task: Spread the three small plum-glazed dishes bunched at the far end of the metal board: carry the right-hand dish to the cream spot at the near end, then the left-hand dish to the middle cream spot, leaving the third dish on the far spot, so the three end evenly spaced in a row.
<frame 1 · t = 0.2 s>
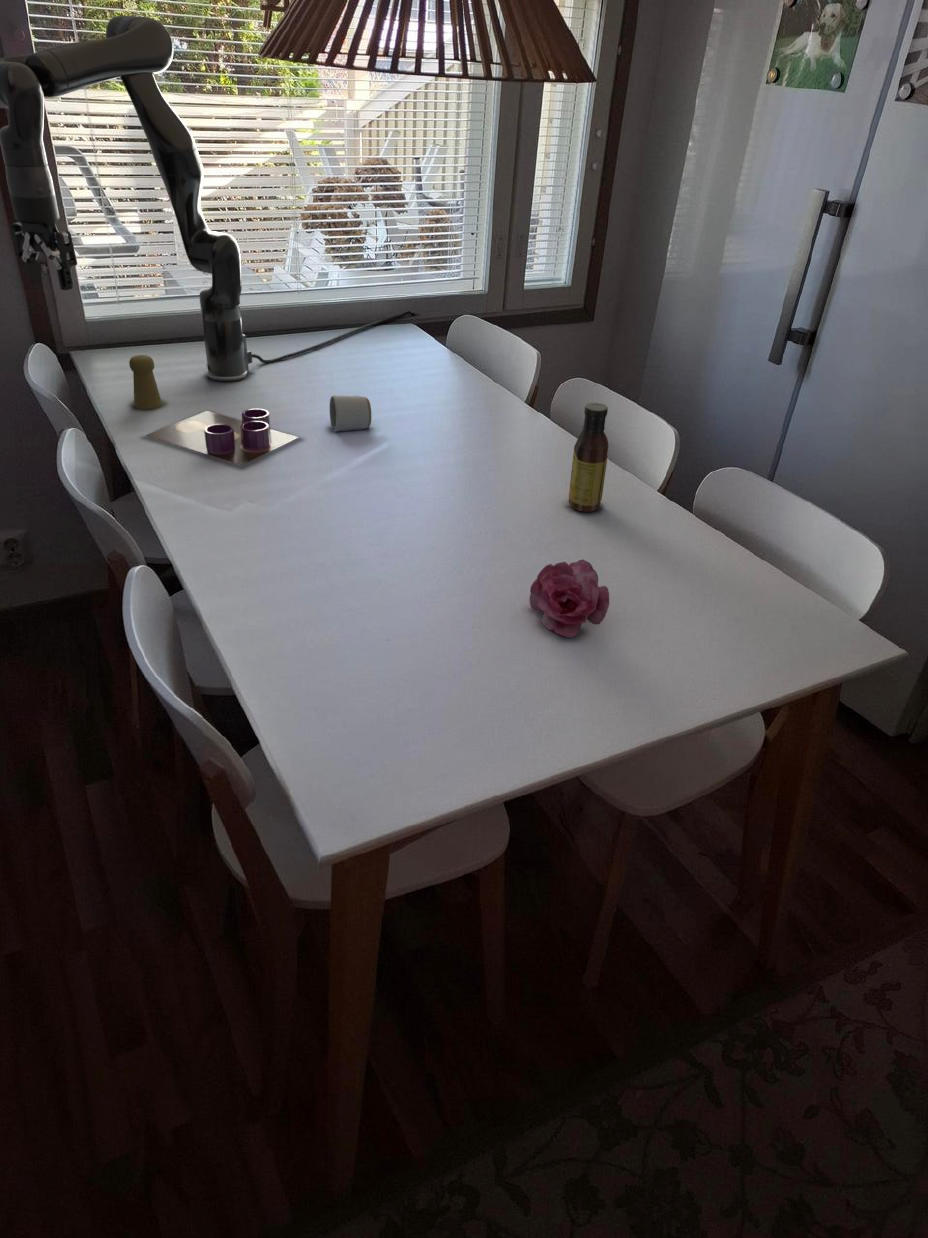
hand: (51, 285, 164), 29 cm above the table, tool pointing down, fingers open, 8 cm apart
plum dish 2: (257, 433, 182), point 1 cm above the table, touching metal board
flower: (565, 622, 129), on the table
metal board: (223, 438, 180), on the table
sauce bottle: (583, 507, 162), on the table
plum dish 1: (256, 446, 176), point 1 cm above the table, touching metal board
ceramic mug: (348, 428, 189), on the table
plum dish 3: (221, 449, 174), point 1 cm above the table, touching metal board
yellow pawn figure: (148, 405, 194), on the table
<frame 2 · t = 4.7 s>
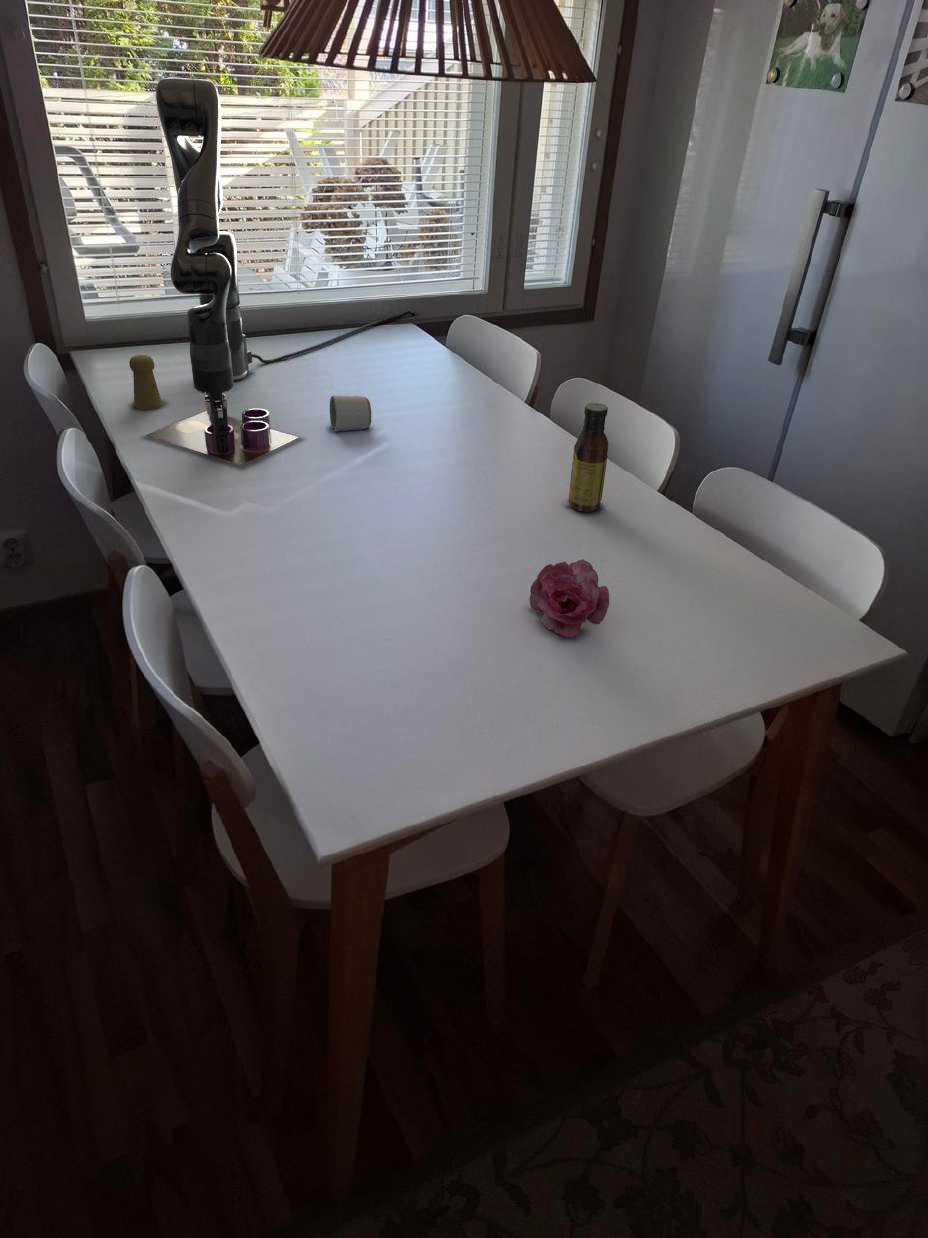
hand: (220, 445, 174), 1 cm above the table, tool pointing down, fingers closed on plum dish 3, 5 cm apart
plum dish 3: (221, 449, 174), point 1 cm above the table, touching gripper, metal board
everything else where it was.
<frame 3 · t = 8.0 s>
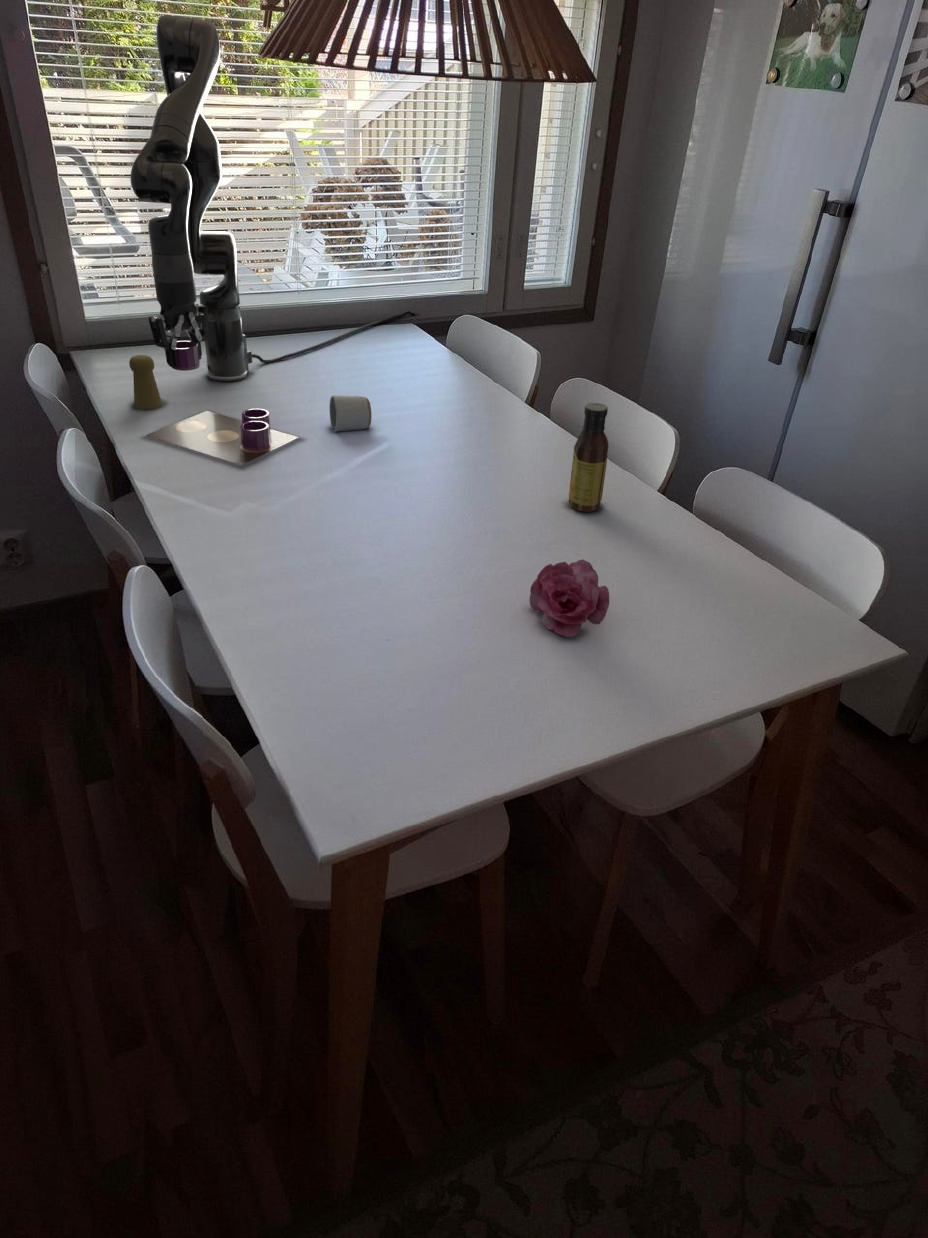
hand: (185, 362, 175), 15 cm above the table, tool pointing down, fingers closed on plum dish 3, 5 cm apart
plum dish 3: (185, 366, 175), point 14 cm above the table, touching gripper
everything else where it was.
when the fingers open (1 cm above the table, at t = 11.5 s): plum dish 3 stays where it is, resting on metal board.
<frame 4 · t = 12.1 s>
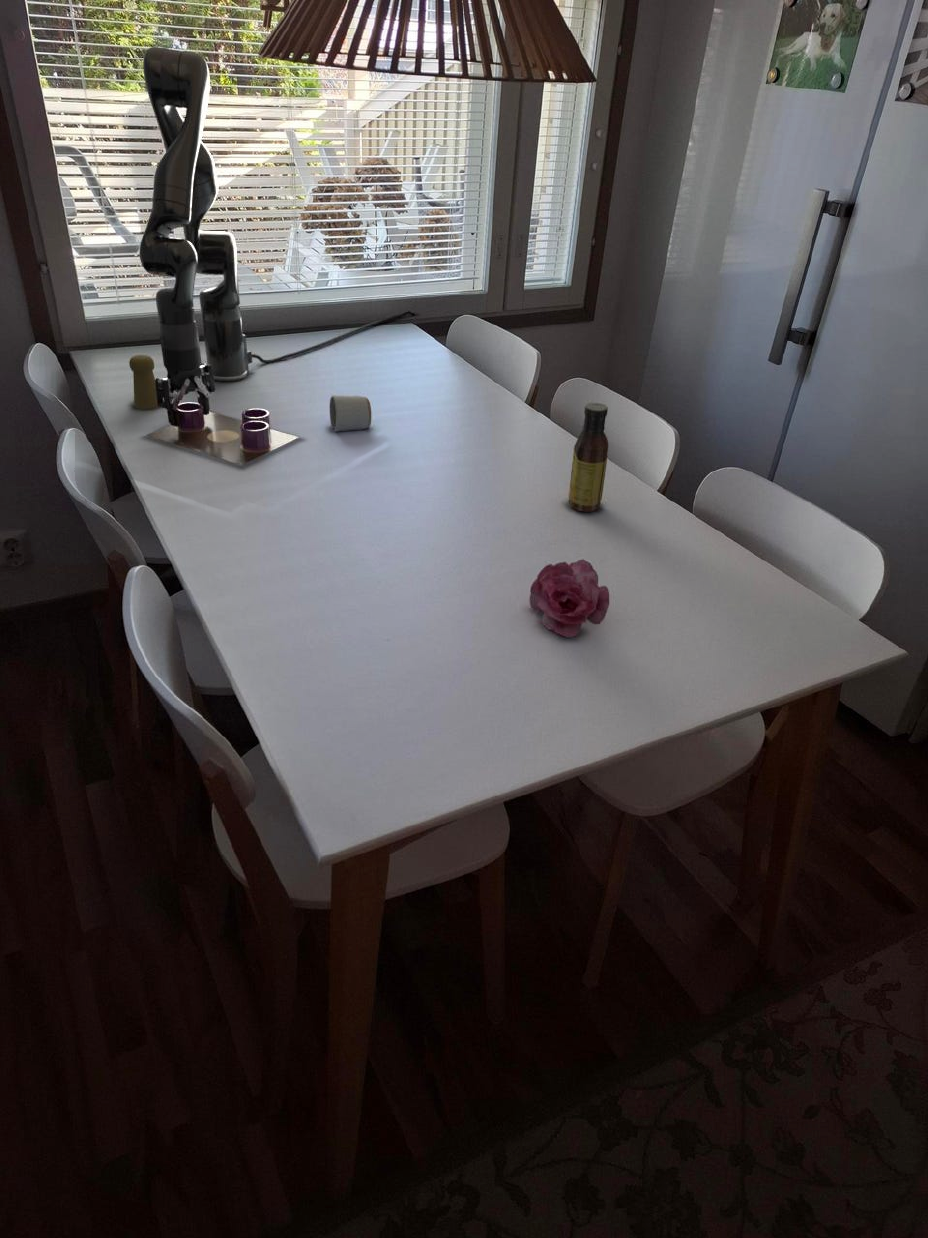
hand: (190, 419, 183), 2 cm above the table, tool pointing down, fingers open, 8 cm apart
plum dish 3: (191, 426, 183), point 1 cm above the table, touching metal board
everything else where it was.
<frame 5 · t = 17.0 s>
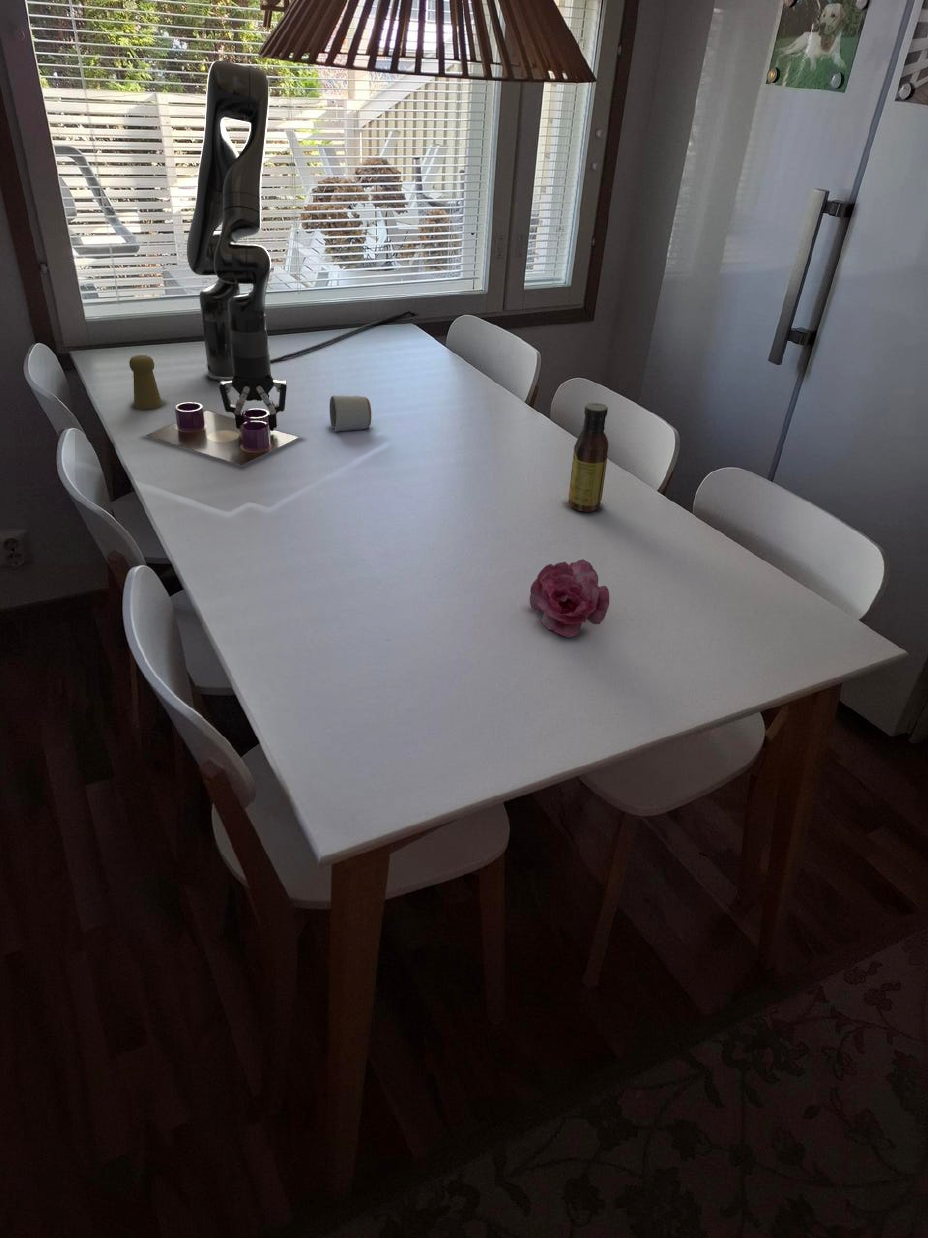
hand: (257, 429, 182), 1 cm above the table, tool pointing down, fingers closed on plum dish 2, 5 cm apart
plum dish 2: (257, 433, 182), point 1 cm above the table, touching gripper, metal board
everything else where it was.
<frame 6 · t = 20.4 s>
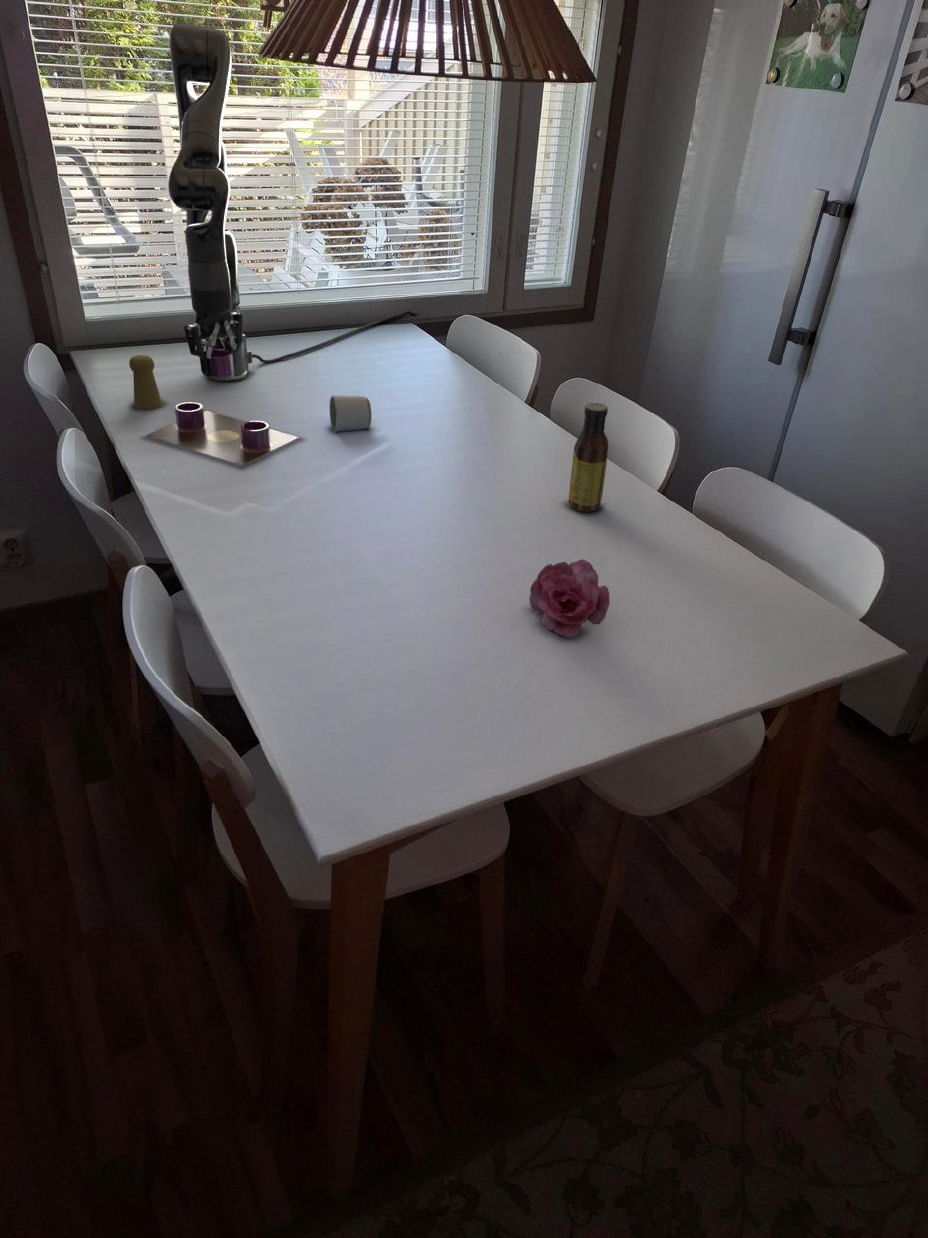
hand: (219, 371, 172), 14 cm above the table, tool pointing down, fingers closed on plum dish 2, 5 cm apart
plum dish 2: (219, 375, 173), point 14 cm above the table, touching gripper
everything else where it was.
when the fingers open (1 cm above the table, at t = 23.8 s): plum dish 2 stays where it is, resting on metal board.
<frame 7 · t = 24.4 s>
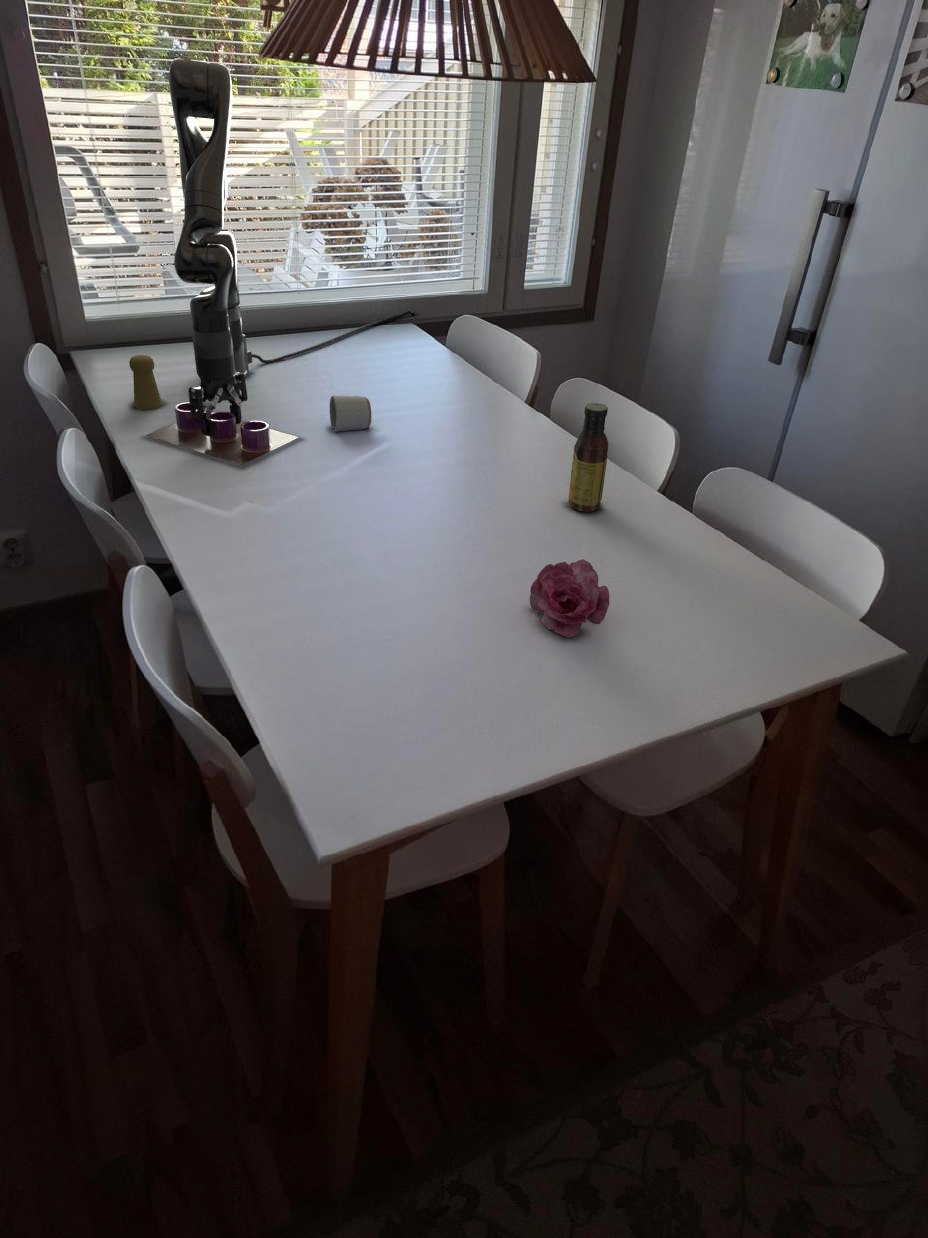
hand: (222, 428, 179), 2 cm above the table, tool pointing down, fingers open, 8 cm apart
plum dish 2: (223, 436, 180), point 1 cm above the table, touching metal board
everything else where it was.
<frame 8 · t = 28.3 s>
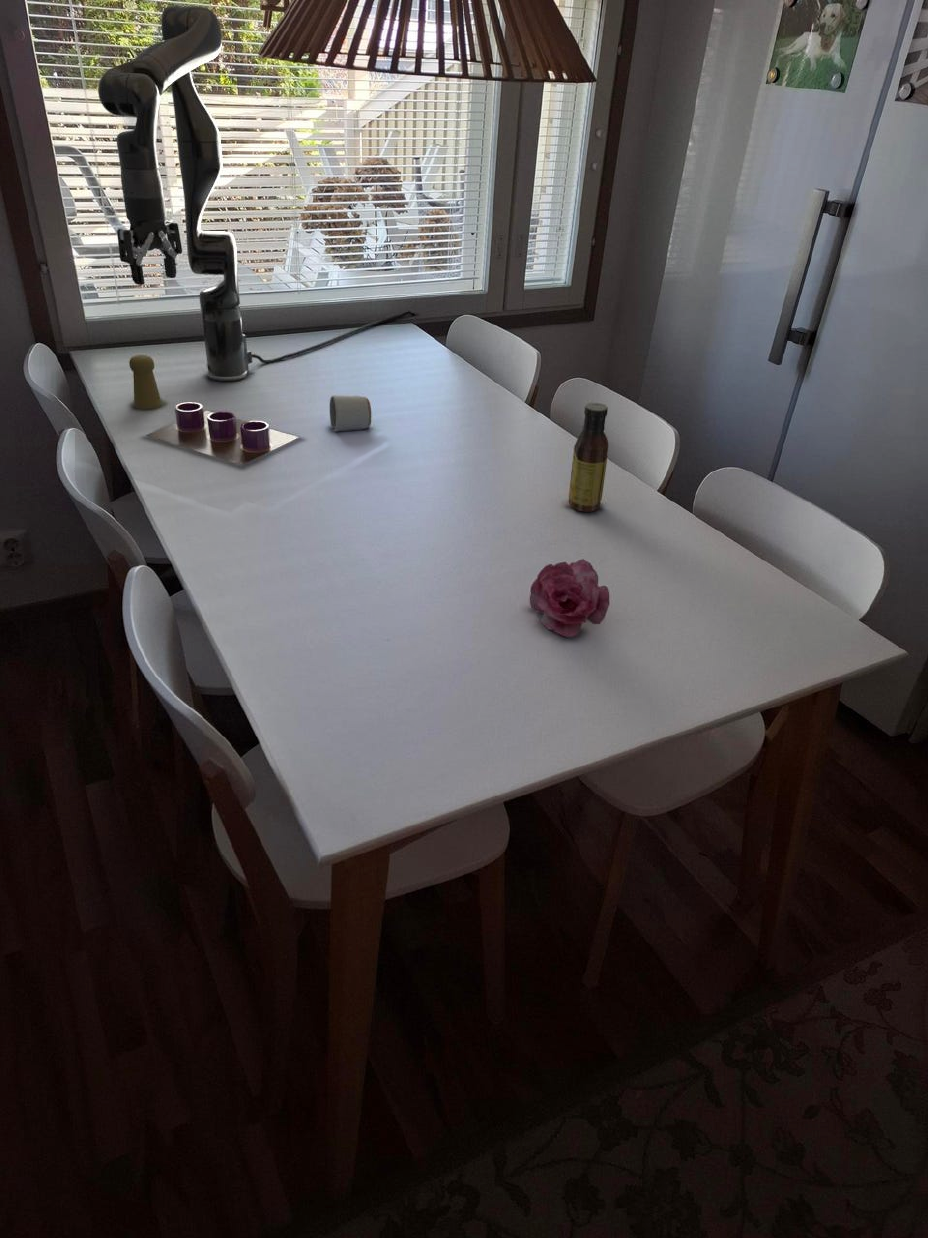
hand: (155, 280, 176), 28 cm above the table, tool pointing down, fingers open, 8 cm apart
nothing on the table moved.
at the end: plum dish 3 0.1 cm from the target spot, point 0.6 cm above the table; plum dish 2 0.1 cm from the target spot, point 0.6 cm above the table; plum dish 1 0.0 cm from the target spot, point 0.6 cm above the table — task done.
